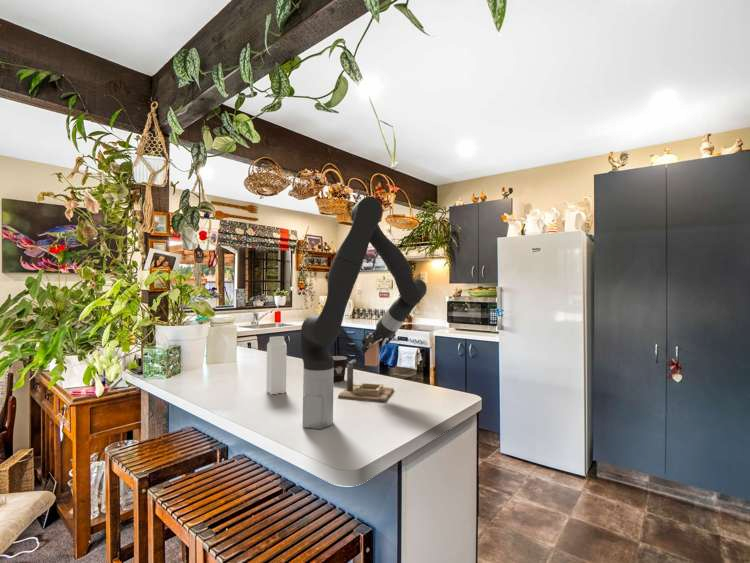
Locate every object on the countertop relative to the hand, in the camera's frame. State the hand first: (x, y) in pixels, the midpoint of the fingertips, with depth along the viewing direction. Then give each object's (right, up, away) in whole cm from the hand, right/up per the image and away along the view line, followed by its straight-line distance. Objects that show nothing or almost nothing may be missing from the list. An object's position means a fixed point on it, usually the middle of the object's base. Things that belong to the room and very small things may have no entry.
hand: (369, 350), depth 146 cm
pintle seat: (-1, -17, 0) cm, 17 cm away
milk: (-37, -17, +1) cm, 41 cm away
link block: (+1, -5, -1) cm, 6 cm away
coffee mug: (-16, -17, +21) cm, 32 cm away
